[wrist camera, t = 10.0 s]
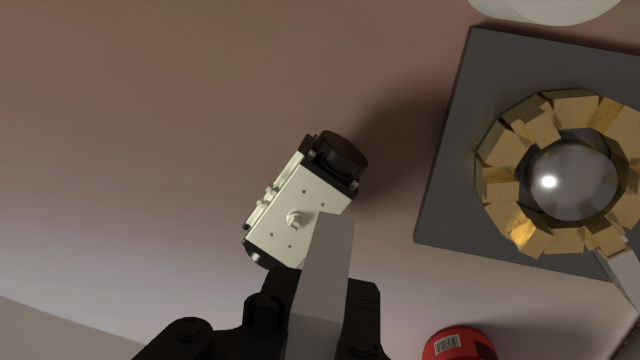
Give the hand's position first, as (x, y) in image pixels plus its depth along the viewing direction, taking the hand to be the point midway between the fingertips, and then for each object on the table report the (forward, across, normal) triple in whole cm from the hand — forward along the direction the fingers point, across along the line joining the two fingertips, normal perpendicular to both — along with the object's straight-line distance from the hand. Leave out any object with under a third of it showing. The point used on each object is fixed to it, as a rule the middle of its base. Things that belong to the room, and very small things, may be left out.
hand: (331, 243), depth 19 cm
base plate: (+24, +18, -2) cm, 30 cm away
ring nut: (+22, +20, -4) cm, 30 cm away
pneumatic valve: (+24, -3, -6) cm, 25 cm away
